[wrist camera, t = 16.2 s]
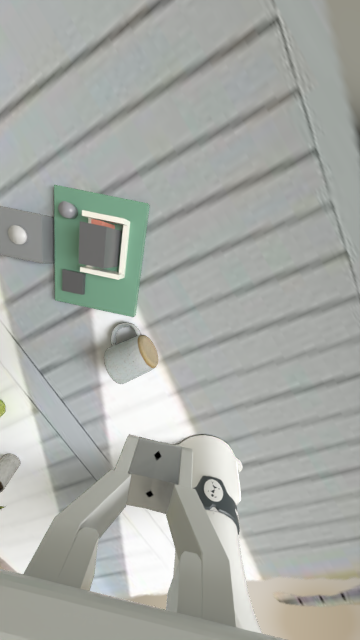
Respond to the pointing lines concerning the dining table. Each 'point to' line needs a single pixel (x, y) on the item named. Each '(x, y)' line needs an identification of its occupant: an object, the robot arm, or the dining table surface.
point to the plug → (99, 244)
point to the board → (92, 282)
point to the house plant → (7, 469)
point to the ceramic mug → (130, 356)
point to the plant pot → (2, 408)
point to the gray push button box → (26, 235)
